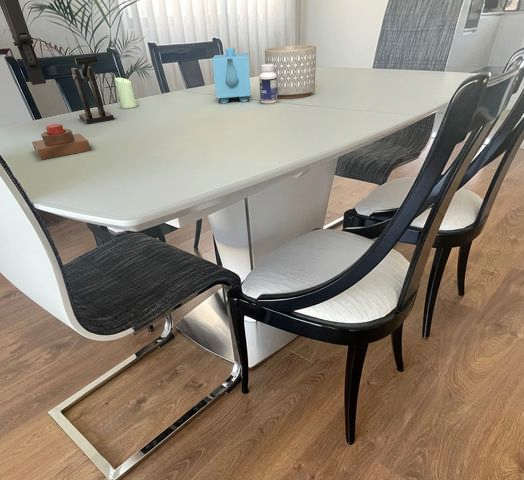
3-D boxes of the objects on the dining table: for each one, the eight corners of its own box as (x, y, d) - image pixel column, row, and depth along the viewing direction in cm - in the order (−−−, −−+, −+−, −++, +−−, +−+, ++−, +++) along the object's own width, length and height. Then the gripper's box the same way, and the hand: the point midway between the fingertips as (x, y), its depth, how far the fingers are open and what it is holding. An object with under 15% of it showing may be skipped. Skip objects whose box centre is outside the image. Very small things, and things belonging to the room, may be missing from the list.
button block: (41, 160, 86) (33, 140, 83) (35, 151, 92) (28, 133, 89) (91, 150, 90) (84, 131, 87) (82, 143, 96) (76, 124, 93)
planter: (256, 97, 130) (254, 50, 122) (286, 89, 139) (285, 45, 131) (295, 101, 122) (295, 50, 113) (324, 92, 131) (326, 45, 122)
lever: (98, 63, 102) (95, 52, 102) (77, 65, 100) (73, 54, 100) (94, 80, 113) (91, 71, 112) (75, 83, 111) (72, 73, 110)
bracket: (114, 119, 116) (100, 67, 107) (87, 124, 113) (70, 70, 104) (105, 114, 122) (91, 65, 114) (80, 119, 119) (63, 68, 111)
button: (50, 137, 87) (46, 128, 86) (47, 134, 89) (44, 125, 88) (66, 134, 88) (63, 125, 87) (63, 131, 90) (60, 123, 89)
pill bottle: (257, 103, 123) (254, 65, 117) (268, 100, 126) (267, 63, 119) (269, 104, 120) (267, 66, 114) (280, 101, 123) (280, 63, 116)
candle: (139, 105, 132) (132, 76, 126) (132, 108, 128) (125, 78, 123) (126, 105, 133) (118, 76, 127) (119, 108, 129) (111, 78, 124)
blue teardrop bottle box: (219, 96, 137) (214, 47, 128) (250, 93, 137) (247, 44, 127) (216, 108, 120) (209, 52, 111) (251, 105, 120) (247, 50, 111)
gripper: (-47, -74, 69) (16, 83, 85) (-47, -89, 61) (24, 89, 77) (-2, -74, 72) (52, 79, 88) (4, -88, 64) (62, 84, 79)
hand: (38, 83), depth 82 cm, fingers closed
